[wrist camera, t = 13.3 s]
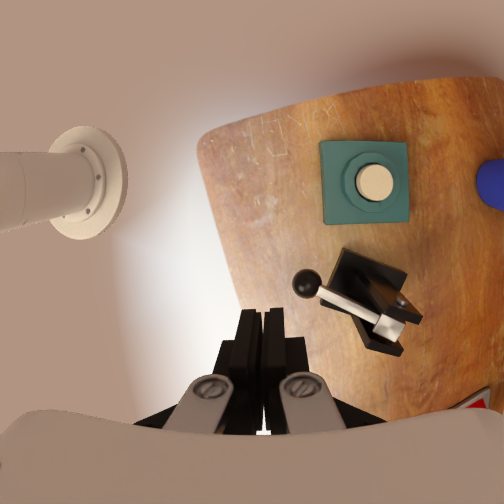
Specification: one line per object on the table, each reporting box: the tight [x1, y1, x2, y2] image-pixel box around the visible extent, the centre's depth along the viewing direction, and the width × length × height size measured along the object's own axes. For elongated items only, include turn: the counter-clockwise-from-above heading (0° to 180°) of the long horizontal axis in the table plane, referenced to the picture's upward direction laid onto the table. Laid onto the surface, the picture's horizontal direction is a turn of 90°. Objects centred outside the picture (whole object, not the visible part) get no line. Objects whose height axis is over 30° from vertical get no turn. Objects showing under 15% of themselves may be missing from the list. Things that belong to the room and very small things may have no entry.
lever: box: [292, 269, 406, 342], centre depth 29 cm, size 13×3×3 cm, turn 71°
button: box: [356, 165, 393, 201], centre depth 30 cm, size 4×4×2 cm
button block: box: [319, 141, 409, 225], centre depth 32 cm, size 11×10×4 cm
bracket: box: [320, 248, 423, 357], centre depth 32 cm, size 10×8×13 cm
